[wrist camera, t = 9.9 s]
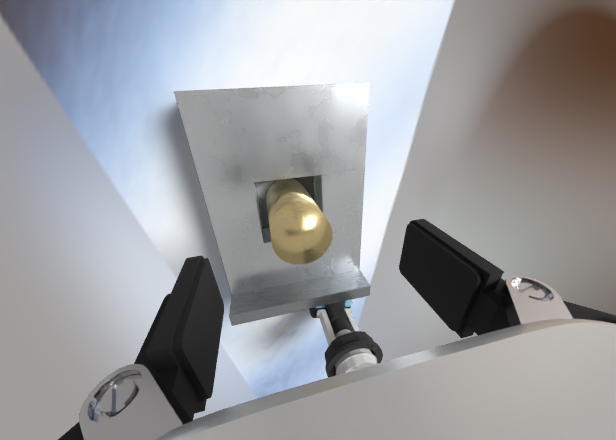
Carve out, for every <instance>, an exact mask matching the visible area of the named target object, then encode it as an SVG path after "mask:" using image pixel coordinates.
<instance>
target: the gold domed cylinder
mask: <svg viewBox="0 0 616 440" xmlns="http://www.w3.org/2000/svg"><path fill="white" fill-rule="evenodd" d="M266 203H267V211H268V218H269V226H270V234H271V242H272V247H273V250H274V252H275V253H276V255H277V256H278V257H279V258H280V259H281V260H283V261H285V262H287V263H290V264H295V265H303V264H308V263H311V262H313V261H316V260H317V259H319V258H320V257H321V256H323V255H324V254H325V253H326V251H327V250H328V248H329V247H330V245H331V242H332V236H333V233H332V227H331V225H330V223H329V221H328V220H327V219H326V217H325V216H324V214H323V213H322V211H321V210H320V209H319V207H318V206H317V204H316V203H315V202H314V200H313V199H312V197H311V196H310V195H309V193H308V192H307V190H306V189H305V188H304V186H303V185H302V184H301V183H300V182H299V181H297V180H294V179H291V178H289V179H281V180H278V181H276V182H274V183H273V184H272V185H271V186H270V188H269V189H268V191H267V195H266Z"/></svg>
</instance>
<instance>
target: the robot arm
mask: <svg viewBox="0 0 616 440" xmlns="http://www.w3.org/2000/svg"><path fill="white" fill-rule="evenodd" d="M399 270H400V272H401V274H402V275H403V276H404V277H405V278H406V279H407V281H408V282H409V283H410V284H411V285H412V286H413V287H414V288H415V290H416V291H417V292H418V293H419V294H420V295H421V296H422V298H423V299H424V300H425V301H426V302H427V303H428V304H429V305H430V307H431V308H432V309H433V310H434V311H435V312H436V313H437V314H438V315H439V317H440V318H441V319H442V320H443V321H444V322H445V323H446V325H447V326H448V327H449V328H450V329H451V330H453V331H455V332H456V333H457V334H458V335H459V336H460V337H461V338H464V337H467V336H471V335H473V333H474V332H475V333H476V334H477V335H478V336H475V337H471V338H467V339H464V340H461V341H456V342H453V343H450V344H446V345H442V346H438V347H435V348H431V349H428V350H424V351H421V352H417V353H413V354H410V355H406V356H403V357H399V358H396V359H392V360H389V361H385V362H382V363H378V364H375V365H371V366H368V367H364V368H361V369H357V370H353V371H350V372H347V373H343V374H340V375H336V376H333V377H329V378H326V379H322V380H319V381H315V382H312V383H308V384H305V385H302V386H298V387H295V388H291V389H288V390H284V391H281V392H277V393H274V394H271V395H268V396H264V397H261V398H258V399H255V400H252V401H248V402H245V403H242V404H239V405H235V406H232V407H229V408H226V409H223V410H220V411H217V412H214V413H212V414H209V415H206V416H203V417H201V418H198V419H195V420H193V417H194V413H198V412H201V411H204V410H205V405H206V399H208V398H211V396H212V392H213V384H214V378H215V371H216V362H217V356H218V349H219V342H220V335H221V328H222V321H223V314H224V304H223V300H222V297H221V295H220V292H219V289H218V286H217V283H216V280H215V277H214V274H213V271H212V268H211V265H210V262H209V260H208V258H206V259H204V258H203V256H197V257H191V258H187V259H186V260H185V263H184V265H183V267H182V269H181V272H180V274H179V276H178V279H177V281H176V283H175V286H174V288H173V290H172V292H171V294H168V295H167V296H166V297H165V298H164V300H163V302H162V304H161V307H160V309H159V311H158V313H157V315H156V317H155V320H154V322H153V324H152V326H151V328H150V331H149V333H148V335H147V337H146V339H145V341H144V343H143V346H142V348H141V350H140V352H139V354H138V356H137V359H136V361H135V363H134V364H132V365H127V366H125V367H122V368H120V369H118V370H116V371H115V372H113V373H111V374H110V375H108V376H107V377H106V378H105V379H104V380H102V381H101V382H100V383H99V384H98V385H97V386H96V387H95V388H94V389H93V390H92V392H91V393H90V394H89V395H88V397H87V399H86V400H85V402H84V403H83V406H82V408H81V411H80V414H79V422H78V423H77V424H76V425H75V426H74V427H72V428H71V429H70V430H69V431H68V432H67V433H65V435H63V436H62V437H61V438H59V439H58V440H616V316H615V315H612V314H608V313H604V312H601V311H598V310H594V309H590V308H587V307H583V306H579V305H576V304H573V303H569V302H566V301H562V299H561V297H560V296H559V294H558V293H557V292H556V291H555V290H554V289H552V288H551V287H550V286H548V285H547V284H545V283H543V282H542V281H539V280H537V279H534V278H531V277H528V276H523V275H511V276H508V277H507V278H506V280H505V281H504V280H503V279H501V276H502V274H503V271H502V270H501V269H499V268H498V267H496V266H494V265H493V264H492V263H490V262H489V261H487V260H486V259H484V258H482V257H481V256H479V255H478V254H476V253H475V252H473V251H472V250H470V249H469V248H467V247H466V246H464V245H463V244H461V243H460V242H458V241H457V240H455V239H454V238H452V237H450V236H449V235H448V234H446V233H445V232H443V231H442V230H440V229H438V228H437V227H436V226H434V225H433V224H431V223H429V222H428V221H426V220H425V219H419V220H413V221H411V222H410V223H409V224H408V225H407V228H406V233H405V239H404V244H403V249H402V255H401V260H400V265H399Z"/></svg>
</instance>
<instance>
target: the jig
mask: <svg viewBox="0 0 616 440" xmlns="http://www.w3.org/2000/svg"><path fill="white" fill-rule="evenodd" d="M174 94H175V97H176V101H177V104H178V108H179V111H180V115H181V118H182V122H183V125H184V129H185V132H186V136H187V139H188V143H189V146H190V150H191V153H192V157H193V160H194V164H195V167H196V171H197V174H198V178H199V181H200V185H201V188H202V192H203V195H204V199H205V202H206V206H207V209H208V213H209V216H210V220H211V223H212V227H213V230H214V234H215V238H216V241H217V245H218V248H219V252H220V255H221V259H222V262H223V266H224V269H225V273H226V276H227V280H228V283H229V287H230V290H231V294H232V298H231V305H230V313H229V317H230V321H231V324H232V326H233V325H238V324H242V323H247V322H251V321H256V320H260V319H265V318H269V317H274V316H278V315H283V314H287V313H292V312H296V311H301V310H305V309H310V308H314V307H319V306H324V305H328V304H333V303H337V302H342V301H346V300H351V299H355V298H360V297H364V296H369V295H370V285H369V283H368V282H367V280H366V279H365V277H364V276H363V274H362V273H361V271H360V270H359V266H360V248H361V229H362V210H363V191H364V172H365V153H366V134H367V115H368V97H369V83H351V84H329V85H306V86H284V87H261V88H239V89H216V90H194V91H174ZM306 176H314V196H315V203H316V204H317V206H318V207H319V209H320V210H321V211H322V213H323V214H324V216H325V217H326V219H327V220H328V221H329V223H330V225H331V227H332V233H333V236H332V242H331V245H330V247H329V248H328V250H327V251H326V253H325V254H324V255H323V256H321V257H320V258H319V259H317V260H316V261H313V262H311V263H308V264H303V265H295V264H290V263H287V262H285V261H283V260H281V259H280V258H279V257H278V256H277V255H276V253H275V252H274V250H273V247H272V242H271V234H270V227H267V228H263V227H262V222H261V216H260V210H259V204H258V198H257V193H256V187H255V182H263V181H272V180H281V179H289V178H298V177H306Z"/></svg>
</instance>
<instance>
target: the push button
mask: <svg viewBox="0 0 616 440" xmlns="http://www.w3.org/2000/svg"><path fill="white" fill-rule="evenodd" d="M351 304H352V300H346V301H342V302H337V303H333V304H328V305H324V306H319V307H314V308H310V309H309V310H310V314H311V316H312V317H313V318H320V321H321V324H322V327H323V330H324V333H325V336H326V339H327V342H328V345H329V347H328V349H327V350H326V352H325V360H326V372H327V376H328V377H333V376H336V375H340V374H343V373H347V372H350V371H353V370H357V369H361V368H364V367H368V366H371V365H375V364H378V363H381V360H382V357H383V354H382V350H381V349H380V347H379V346H378V344H376V343H375V342H374V341H373V339H372V338H371V337H370V336H369V335H367V334H366V333H365V332H361V331H359V328H358V326H357V324H356V322H355V320H354V318H353V316H352V314H351V313H352V311H351V309H350V307H351Z"/></svg>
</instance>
